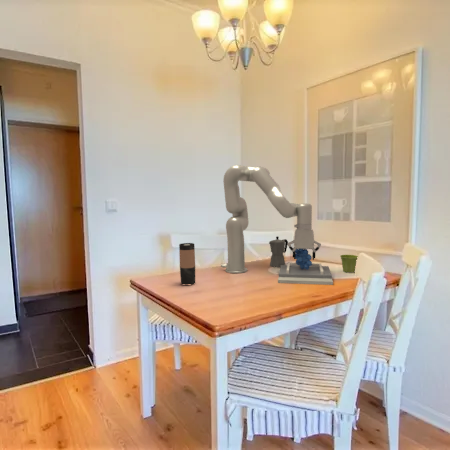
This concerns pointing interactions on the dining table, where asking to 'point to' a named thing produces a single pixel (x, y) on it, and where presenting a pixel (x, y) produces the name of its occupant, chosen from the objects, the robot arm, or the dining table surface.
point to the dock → (305, 274)
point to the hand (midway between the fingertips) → (303, 259)
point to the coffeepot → (278, 252)
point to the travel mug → (187, 263)
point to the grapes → (303, 258)
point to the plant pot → (348, 262)
